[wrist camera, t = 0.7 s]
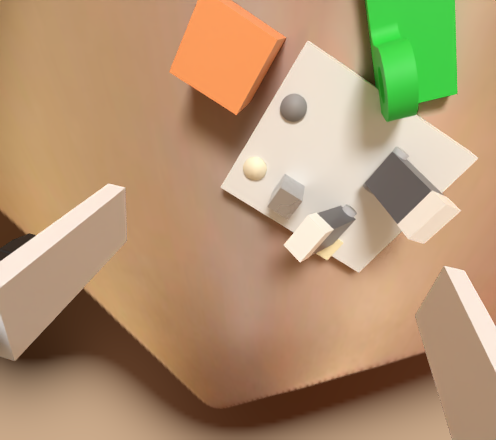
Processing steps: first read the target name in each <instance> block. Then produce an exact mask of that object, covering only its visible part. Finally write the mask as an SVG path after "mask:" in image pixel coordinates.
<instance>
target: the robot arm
mask: <svg viewBox="0 0 496 440" xmlns="http://www.w3.org/2000/svg"><path fill="white" fill-rule="evenodd" d="M126 241H127V223H126V189H125V187H121V186H117V185H112V184H107V185H106V186H104V187H103V188H102V189H100V190H99V191H97V192H96V193H95V194H93V195H92V196H90V197H89V198H88V199H86V200H85V201H84V202H82V203H81V204H79V205H78V206H77V207H75V208H74V209H72V210H71V211H70V212H68V213H67V214H65V215H64V216H63V217H61V218H60V219H58V220H57V221H56V222H54V223H53V224H51V225H50V226H49V227H47V228H46V229H45V230H43V231H42V232H40V233H39V234H38V235H33V234H27V235H24V236H22V237H19V238H16V239H14V240H12V241H11V242H9V243H7V244H6V245H5V246H3V247H2V248H0V357H3V358H6V359H10V360H13V361H15V360H16V359H17V358H18V357H19V356H20V355H21V354H22V353H23V352H24V351H25V350H26V349H27V348H28V346H29V345H30V344H31V343H32V342H33V341H34V340H35V339H36V338H37V337H38V336H39V334H40V333H42V331H43V330H44V329H45V328H46V327H47V326H48V325H49V324H50V323H51V322H52V321H53V320H54V319H55V317H56V316H57V315H58V314H59V313H60V312H61V311H62V310H63V309H64V308H65V307H66V306H67V305H68V303H70V301H71V300H72V299H73V298H74V297H75V296H76V295H77V294H78V293H79V292H80V291H81V290H82V289H83V288H84V286H85V285H86V284H87V283H88V282H89V281H90V280H91V279H92V278H93V277H94V276H95V275H96V274H97V273H98V271H99V270H100V269H101V268H102V267H103V266H104V265H105V264H106V263H107V262H108V261H109V260H110V259H111V258H112V256H113V255H114V254H115V253H116V252H117V251H118V250H119V249H120V248H121V247H122V246H123V245H124V244H125V243H126ZM415 318H416V322H417V325H418V328H419V332H420V335H421V338H422V341H423V345H424V348H425V351H426V355H427V358H428V361H429V364H430V368H431V371H432V375H433V378H434V381H435V385H436V388H437V391H438V395H439V398H440V401H441V404H442V408H443V411H444V415H445V418H446V421H447V425H448V428H449V431H450V435H451V438H452V440H496V326H495V324H494V323H493V321H492V319H491V317H490V316H489V314H488V312H487V310H486V308H485V307H484V305H483V303H482V301H481V299H480V298H479V296H478V294H477V292H476V290H475V289H474V287H473V285H472V283H471V282H470V280H469V278H468V276H467V274H466V273H465V271H464V270H460V269H456V268H451V267H447V266H444V267H443V268H442V270H441V272H440V273H439V275H438V277H437V279H436V280H435V282H434V284H433V285H432V287H431V289H430V291H429V292H428V294H427V296H426V297H425V299H424V301H423V302H422V304H421V306H420V308H419V309H418V311H417V313H416V314H415Z"/></svg>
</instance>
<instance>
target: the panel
mask: <svg viewBox="0 0 496 440" xmlns="http://www.w3.org/2000/svg"><path fill="white" fill-rule="evenodd" d="M395 147H399V148H400V149H402V150H403V151H405V152H406V153H407V154H408V155H409V157H408V158H407V160H408V161H409V162H410V163H411V164H412V165H413V166H414V167H415V168H416V169H417V170H418V171H419V172H421V173H422V174H423V175H424V176H425V177H426V178H427V179H428V180H429V181H430V182H431V183H432V184H433V185H434V186H435V187H436V188H437V189H438V190H439V191H440V192H441V193H443V192H444V191H445V190H446V189H447V188H448V187H449V186H450V185H451V184H452V183H453V182H454V181H455V180H456V179H457V178H458V177H459V176H460V175H461V174H462V173H464V172H465V171H466V170H467V169H468V168H469V167H470V166H471V165H472V164H473V163H474V162H475V161H476V160H477V159H478V158H477V157H476V156H475V155H474V154H473V153H472V152H471V151H469V150H468V149H466V148H465V147H463V146H462V145H461V144H459V143H458V142H456V141H455V140H453V139H452V138H450V137H449V136H447V135H446V134H444V133H443V132H441V131H440V130H439V129H437V128H436V127H434V126H433V125H431V124H430V123H428V122H427V121H425V120H424V119H422V118H421V117H420V116H418V115H417V114H416V115H415V116H410V117H406V118H402V119H398V120H393V121H389V122H386V120H385V119H384V117H383V115H382V114H381V106H380V98H379V90H378V89H377V87H376V86H374V85H373V84H371V83H370V82H368V81H367V80H365V79H364V78H363V77H361V76H360V75H358V74H357V73H355V72H354V71H352V70H351V69H349V68H348V67H346V66H345V65H343V64H342V63H341V62H339V61H338V60H336V59H335V58H333V57H332V56H330V55H329V54H327V53H326V52H324V51H323V50H322V49H320V48H319V47H317V46H316V45H314V44H313V43H311V42H310V41H307V42H306V44H305V46H304V48H303V49H302V51H301V53H300V54H299V56H298V58H297V59H296V61H295V63H294V64H293V66H292V68H291V69H290V71H289V73H288V74H287V76H286V78H285V80H284V81H283V83H282V85H281V86H280V88H279V90H278V91H277V93H276V95H275V96H274V98H273V100H272V101H271V103H270V105H269V107H268V108H267V110H266V112H265V113H264V115H263V117H262V118H261V120H260V122H259V123H258V125H257V127H256V128H255V130H254V132H253V133H252V135H251V137H250V139H249V140H248V142H247V144H246V145H245V147H244V149H243V150H242V152H241V154H240V155H239V157H238V159H237V160H236V162H235V164H234V166H233V167H232V169H231V171H230V172H229V174H228V176H227V177H226V179H225V181H224V182H223V184H222V186H221V188H222V189H224V190H225V191H227V192H229V193H230V194H232V195H234V196H235V197H237V198H238V199H240V200H242V201H243V202H245V203H247V204H248V205H250V206H251V207H253V208H255V209H256V210H258V211H260V212H261V213H263V214H264V215H266V216H268V217H269V218H271V219H272V220H274V221H276V222H277V223H279V224H281V225H282V226H284V227H285V228H287V229H289V230H290V231H292V232H295V231H296V229H297V228H298V227H299V226H300V224H301V223H302V222H303V221H304V219H305V218H306V217H307V216H308V215H310V214H313V213H319V212H322V211H325V210H328V209H332V208H335V207H338V206H342V207H344V206H345V205H349V206H351V207H352V208H353V209H354V210H355V211H356V212H357V214H356V215H355V216H354V218H355V219H356V220H355V221H354V222H353V223H352V224H351V225H350V226H349V227H348V229H347V230H346V231H345V232H344V233H343V234H342V235H341V236H340V237H339V238H338V239H337V240H336V242H335V243H334V244H332V245H331V246H329V247H327V248H325V249H323V250H321V251H319V252H317V253H316V254H318V255H319V256H321V257H322V258H324V259H326V260H328V259H329V258H330V257H331V256H332V257H334V258H336V259H337V260H339V261H341V262H342V263H344V264H345V265H347V266H349V267H350V268H352V269H353V270H355V271H357V272H358V273H359V272H360V271H361V270H362V269H363V268H364V267H365V266H366V265H367V264H368V263H369V262H370V261H372V260H373V259H374V258H375V257H376V256H377V255H378V254H379V253H380V252H381V251H382V250H383V249H384V248H385V247H386V246H387V245H388V244H389V243H390V242H391V241H392V240H393V239H395V238H396V237H397V236H398V235H399V234H400V233H401V232H402V231H401V229H400V228H399V227H398V226H397V223H396V222H395V221H394V219H393V218H392V217H391V216H390V214H389V213H388V212H387V211H386V209H385V208H384V207H383V206H382V204H381V203H380V202H379V201H378V199H377V198H376V197H375V196H374V194H371V193H370V192H368V191H367V190H366V189H365V188H364V187H363V184H364V183H365V182H366V180H367V179H368V178H369V177H370V176H371V175H372V174H373V172H374V171H375V170H376V169H377V168H378V167H379V166H380V164H381V163H382V162H383V161H384V160H385V159H386V158H387V156H388V155H389V154H390V153H391V152H392V151H393V150H394V148H395ZM284 174H286V175H288V176H289V177H291V178H293V179H294V180H296V181H297V182H299V183H300V184H302V185H304V186H305V188H304V195H303V201H302V203H301V204H300V205H299V207H298V208H297V209H296V210H295V212H294V213H293V214H292V216H291V217H290V218H289V219H286V218H285V217H283V216H281V215H280V214H278V213H276V212H275V211H273V210H272V209H270V208H268V207H267V205H268V202H269V200H270V197H271V194H272V191H273V190H274V188H275V187H276V185H277V184H278V183H279V181H280V180H281V178H282V177H283V175H284Z"/></svg>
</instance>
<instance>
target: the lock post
mask: <svg viewBox="0 0 496 440" xmlns="http://www.w3.org/2000/svg"><path fill="white" fill-rule="evenodd" d="M304 188H305V186H304V185H302V184H300V183H299V182H297V181H296V180H294V179H293V178H291V177H289V176H288V175H286V174H284V175H283V177H282V178H281V180H280V181H279V183H278V184H277V185H276V187H275V188H274V190H273V191H272V194H271V197H270V200H269V202H268V205H267V207H268V208H270V209H272V210H273V211H275V212H276V213H278V214H280V215H281V216H283V217H285V218H286V219H289V218H290V217H291V216H292V214H293V213H294V212H295V210H296V209H297V208H298V207H299V205H300V204H301V203H302V201H303V195H304Z"/></svg>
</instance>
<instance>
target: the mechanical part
mask: <svg viewBox="0 0 496 440" xmlns="http://www.w3.org/2000/svg"><path fill="white" fill-rule="evenodd" d="M365 6H366V14H367V22H368V30H369V38H370V45H371V53H372V61H373V69H374V77H375V85H376V87H377V89H378V90H379V98H380V106H381V114H382V115H383V117H384V119H385V120H386V122H389V121H393V120H398V119H402V118H406V117H410V116H415V115H416V114H417V111H418V104H419V103H421V102H425V101H429V100H434V99H438V98H442V97H446V96H450V95H454V94H457V62H456V26H455V0H365Z"/></svg>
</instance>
